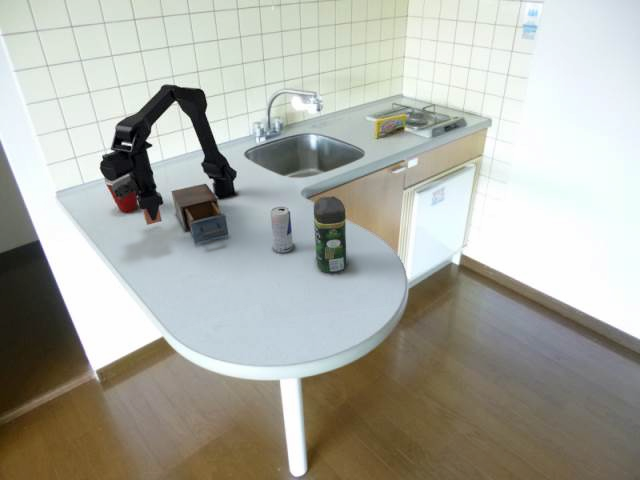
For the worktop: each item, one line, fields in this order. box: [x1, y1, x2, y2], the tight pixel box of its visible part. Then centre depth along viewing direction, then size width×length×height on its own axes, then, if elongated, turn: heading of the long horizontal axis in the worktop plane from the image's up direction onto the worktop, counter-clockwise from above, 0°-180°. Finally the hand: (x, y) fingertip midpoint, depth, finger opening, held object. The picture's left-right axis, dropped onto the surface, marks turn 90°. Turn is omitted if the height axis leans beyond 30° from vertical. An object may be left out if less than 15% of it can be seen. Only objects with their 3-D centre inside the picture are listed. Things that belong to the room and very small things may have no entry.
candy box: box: [373, 113, 407, 140], centre depth 211 cm, size 16×2×8 cm, turn 120°
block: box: [141, 208, 163, 225], centre depth 136 cm, size 4×4×4 cm
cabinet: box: [170, 183, 220, 232], centre depth 149 cm, size 13×11×8 cm
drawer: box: [184, 202, 229, 245], centre depth 139 cm, size 17×10×7 cm, turn 27°
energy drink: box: [270, 206, 294, 253], centre depth 130 cm, size 5×5×12 cm
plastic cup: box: [102, 174, 139, 214], centre depth 156 cm, size 11×11×12 cm
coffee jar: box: [313, 196, 347, 274], centre depth 121 cm, size 10×8×19 cm
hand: (152, 216), depth 137 cm, fingers closed on block, 4 cm apart
